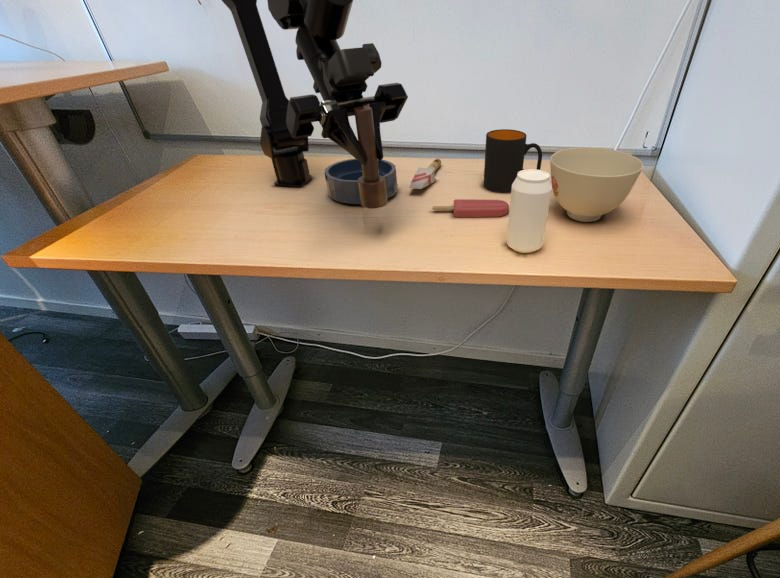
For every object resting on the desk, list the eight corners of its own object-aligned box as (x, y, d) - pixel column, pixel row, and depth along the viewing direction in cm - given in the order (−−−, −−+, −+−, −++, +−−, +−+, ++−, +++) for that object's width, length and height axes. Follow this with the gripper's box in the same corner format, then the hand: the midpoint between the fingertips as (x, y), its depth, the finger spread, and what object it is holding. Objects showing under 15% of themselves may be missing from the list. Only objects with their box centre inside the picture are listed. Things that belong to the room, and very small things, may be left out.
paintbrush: (405, 180, 86) (430, 155, 101) (406, 193, 88) (430, 167, 103) (423, 181, 85) (445, 156, 100) (423, 195, 87) (445, 168, 102)
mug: (537, 195, 88) (544, 142, 81) (481, 191, 90) (483, 139, 83) (538, 181, 94) (545, 131, 87) (485, 178, 96) (488, 128, 89)
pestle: (357, 207, 68) (343, 111, 59) (365, 197, 72) (353, 104, 62) (383, 209, 68) (372, 112, 58) (390, 199, 71) (381, 105, 61)
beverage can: (501, 252, 70) (508, 178, 62) (510, 236, 74) (518, 165, 66) (538, 258, 68) (550, 183, 60) (545, 241, 72) (557, 170, 64)
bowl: (632, 236, 74) (650, 178, 67) (541, 230, 76) (550, 173, 69) (621, 201, 85) (636, 149, 78) (542, 196, 87) (550, 145, 81)
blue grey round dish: (318, 204, 85) (313, 179, 81) (343, 179, 95) (339, 156, 92) (387, 209, 83) (384, 183, 80) (404, 183, 94) (403, 159, 90)
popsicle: (432, 198, 83) (507, 198, 83) (433, 206, 84) (507, 206, 84) (431, 209, 79) (510, 209, 79) (432, 217, 80) (509, 217, 80)
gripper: (270, 23, 51) (327, 140, 53) (396, 16, 60) (443, 117, 61) (266, 87, 61) (314, 185, 63) (374, 74, 70) (415, 160, 71)
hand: (373, 161), depth 64 cm, fingers closed on pestle, 2 cm apart
